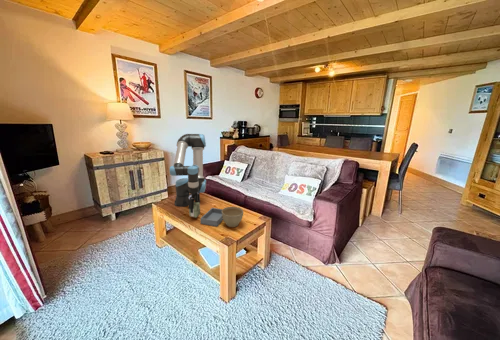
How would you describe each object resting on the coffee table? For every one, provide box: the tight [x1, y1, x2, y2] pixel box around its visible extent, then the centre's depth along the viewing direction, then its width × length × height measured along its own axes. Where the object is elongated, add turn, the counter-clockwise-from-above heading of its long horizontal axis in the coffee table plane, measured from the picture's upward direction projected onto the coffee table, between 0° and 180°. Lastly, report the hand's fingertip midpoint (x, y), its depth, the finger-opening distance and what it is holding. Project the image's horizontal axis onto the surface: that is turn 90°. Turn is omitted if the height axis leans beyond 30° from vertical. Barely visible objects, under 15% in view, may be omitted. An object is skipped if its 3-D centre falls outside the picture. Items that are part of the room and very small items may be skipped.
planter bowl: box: [222, 206, 244, 228], centre depth 152 cm, size 16×16×11 cm
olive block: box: [188, 201, 201, 218], centre depth 158 cm, size 6×6×10 cm
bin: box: [200, 207, 224, 228], centre depth 159 cm, size 20×14×4 cm
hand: (194, 214), depth 159 cm, fingers closed on olive block, 6 cm apart
